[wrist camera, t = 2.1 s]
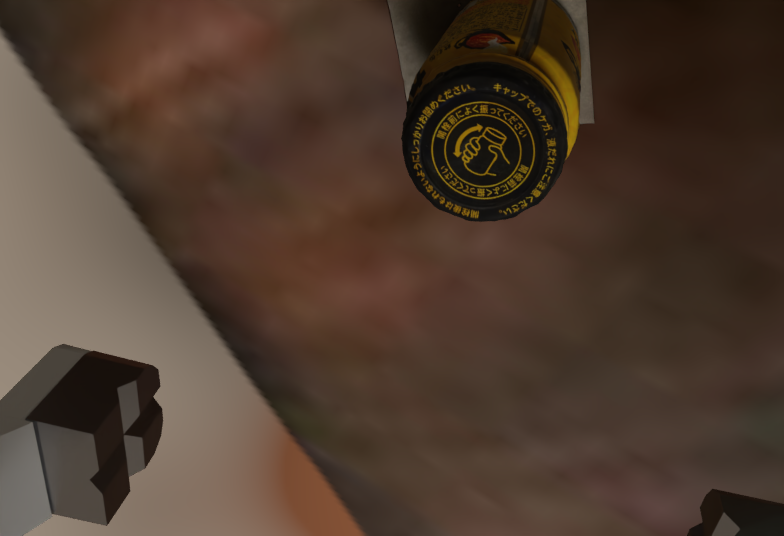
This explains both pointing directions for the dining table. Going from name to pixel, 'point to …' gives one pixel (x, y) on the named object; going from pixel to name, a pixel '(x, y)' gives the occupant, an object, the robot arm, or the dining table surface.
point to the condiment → (491, 99)
